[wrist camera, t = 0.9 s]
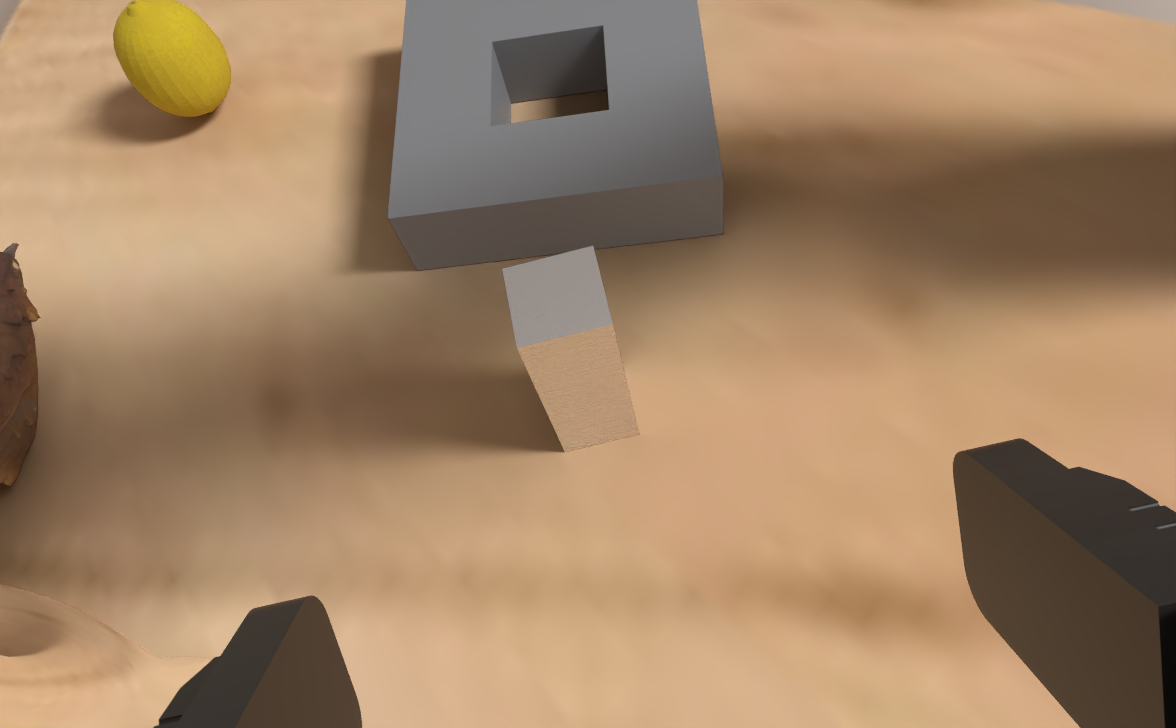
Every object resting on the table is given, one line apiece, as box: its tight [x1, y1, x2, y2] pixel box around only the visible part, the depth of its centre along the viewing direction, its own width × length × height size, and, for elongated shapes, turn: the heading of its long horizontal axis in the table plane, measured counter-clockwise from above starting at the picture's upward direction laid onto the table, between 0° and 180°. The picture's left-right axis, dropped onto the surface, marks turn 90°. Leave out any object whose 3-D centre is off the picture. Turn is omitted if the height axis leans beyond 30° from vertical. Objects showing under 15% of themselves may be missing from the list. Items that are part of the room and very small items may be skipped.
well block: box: [387, 0, 723, 271], centre depth 46 cm, size 16×16×4 cm
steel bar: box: [502, 246, 639, 452], centre depth 35 cm, size 4×4×10 cm
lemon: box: [113, 0, 231, 117], centre depth 49 cm, size 6×6×8 cm
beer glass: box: [0, 584, 211, 728], centre depth 29 cm, size 7×7×15 cm
